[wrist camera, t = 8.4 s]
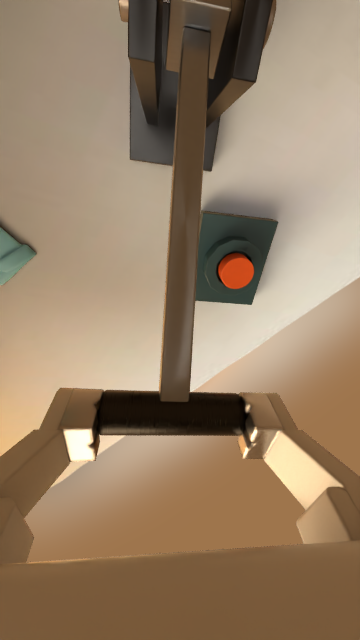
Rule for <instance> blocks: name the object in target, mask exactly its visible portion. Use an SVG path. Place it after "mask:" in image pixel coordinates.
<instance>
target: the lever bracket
mask: <svg viewBox="0 0 360 640" xmlns="http://www.w3.org/2000/svg"><path fill="white" fill-rule="evenodd" d="M119 11H120V17H121V20H122V21H123V22H128V57H129V61H130V159H131V160H136V161H142V162H149V163H156V164H163V165H170V166H173V157H174V141H175V125H176V109H177V93H178V77H179V72H175V71H170V70H166V54H167V37H168V20H169V3H167V2H163V0H119ZM275 11H276V0H232V10H231V14H230V18H229V22H228V26H227V30H226V34H225V38H224V41H223V45H222V49H221V53H220V57H219V61H218V65H217V69H216V72H215V76H214V78H213V79H210V78H208V94H207V111H206V127H205V144H204V161H203V170H204V171H212V165H213V159H214V153H215V146H216V140H217V134H218V128H219V122H220V115H221V114H222V113H223V112H224V111H225V110H227V109H228V108H229V107H230V106H231V105H232V104H233V103H234V102H235V101H236V100H237V99H238V98H239V97H240V96H242V95H243V94H244V93H245V92H246V91H247V90H248V89H249V88H250V87H251V86H252V85H253V84H254V83H255V82H256V79H257V74H258V70H259V65H260V60H261V55H262V51H263V48H264V47H265V45H266V43H267V40H268V38H269V35H270V32H271V29H272V25H273V21H274V17H275Z"/></svg>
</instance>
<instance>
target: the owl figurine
mask: <svg viewBox="0 0 360 640" xmlns="http://www.w3.org/2000/svg"><path fill="white" fill-rule="evenodd" d="M35 255H36V253H35V252H34V251H33V250H32V249H31V248H30V247H29V246H28V245H26V244H25V245H22V244H20V243H19V242H18V241H16V240H15V239H14V238H13V237H12V236H10V235H9V234H8V233H7V232H6V231H5V230H3V229H2V228H1V227H0V285H3V284H5V283H6V282H7V281H8V280H10V279H11V278H12V277H13V276H14V275H15V274H16V273H17V272H18V271H19V270H20V269H21V268H22V267H23V266H24V265H25V264H26V263H27V262H28V261H29V260H31V259H32V258H33V257H34V256H35Z"/></svg>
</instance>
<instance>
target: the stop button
mask: <svg viewBox="0 0 360 640" xmlns="http://www.w3.org/2000/svg"><path fill="white" fill-rule="evenodd" d="M218 273H219V276H220V278H221V280H222V281H223V283H224V284H225V285H226V286H227V287H229V288H232V289H238V288H242V287H244V286H246V285H247V284H248V283H249V282H250V281H251V279H252V277H253V275H254V267H253V264H252V263H251V262H250V261H249V260H248V259H247V258H246V257H245V256H244V255H243V254H240V253H232V254H229V255H227V256H226V257H224V258H223V259H222V261H221V262H220V264H219V268H218Z"/></svg>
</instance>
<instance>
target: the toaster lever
mask: <svg viewBox="0 0 360 640" xmlns="http://www.w3.org/2000/svg"><path fill="white" fill-rule="evenodd" d="M231 10H232V0H170V3H169V20H168V37H167V54H166V70H170V71H175V72H179V77H178V93H177V109H176V125H175V141H174V157H173V173H172V189H171V205H170V221H169V237H168V253H167V269H166V285H165V301H164V317H163V333H162V349H161V364H160V380H159V391H128V390H105V391H104V394H103V397H102V402H101V407H100V410H99V418H98V430H99V434H100V435H220V436H221V435H222V436H224V435H225V436H228V435H229V436H231V435H232V436H235V435H236V436H238V435H240V434H241V432H242V431H243V429H244V420H245V417H244V410H243V407H242V403H241V400H240V397H239V396H238V394H236V393H207V392H204V393H202V392H190V378H191V361H192V344H193V328H194V311H195V294H196V278H197V261H198V244H199V228H200V211H201V194H202V177H203V161H204V144H205V127H206V111H207V94H208V78H210V79H213V78H214V76H215V72H216V69H217V65H218V61H219V57H220V53H221V49H222V45H223V41H224V38H225V34H226V30H227V26H228V22H229V18H230V14H231Z"/></svg>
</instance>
